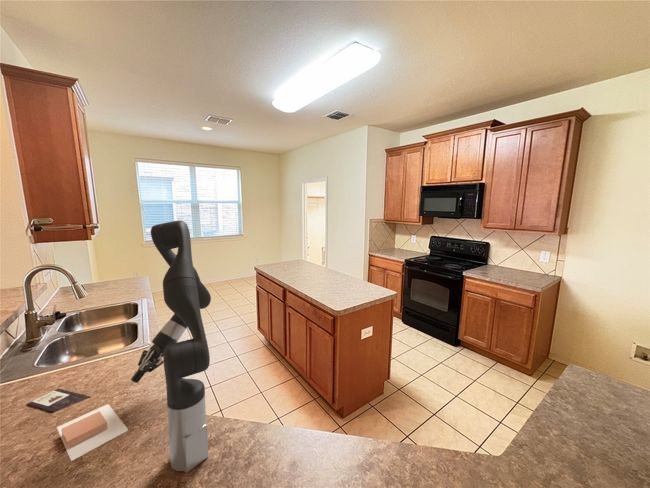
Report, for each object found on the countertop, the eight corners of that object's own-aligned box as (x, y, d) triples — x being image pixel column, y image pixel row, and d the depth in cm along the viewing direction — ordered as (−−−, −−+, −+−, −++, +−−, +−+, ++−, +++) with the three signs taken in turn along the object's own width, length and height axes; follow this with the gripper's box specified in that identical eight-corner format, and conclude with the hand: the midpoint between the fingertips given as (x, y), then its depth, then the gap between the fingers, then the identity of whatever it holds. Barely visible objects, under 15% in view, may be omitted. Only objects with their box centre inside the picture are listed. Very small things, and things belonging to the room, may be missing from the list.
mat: (128, 432, 81) (128, 430, 81) (71, 463, 70) (71, 461, 70) (108, 406, 93) (108, 404, 92) (56, 429, 82) (56, 427, 82)
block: (107, 422, 81) (67, 441, 74) (107, 428, 81) (67, 449, 74) (99, 411, 86) (61, 428, 79) (99, 417, 86) (61, 435, 79)
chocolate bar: (60, 413, 88) (26, 404, 93) (60, 416, 88) (26, 406, 93) (90, 396, 97) (58, 388, 102) (90, 398, 97) (58, 390, 102)
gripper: (154, 326, 100) (117, 371, 91) (169, 334, 93) (131, 384, 84) (169, 335, 105) (136, 378, 96) (185, 343, 97) (150, 391, 88)
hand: (133, 381), depth 90 cm, fingers closed
